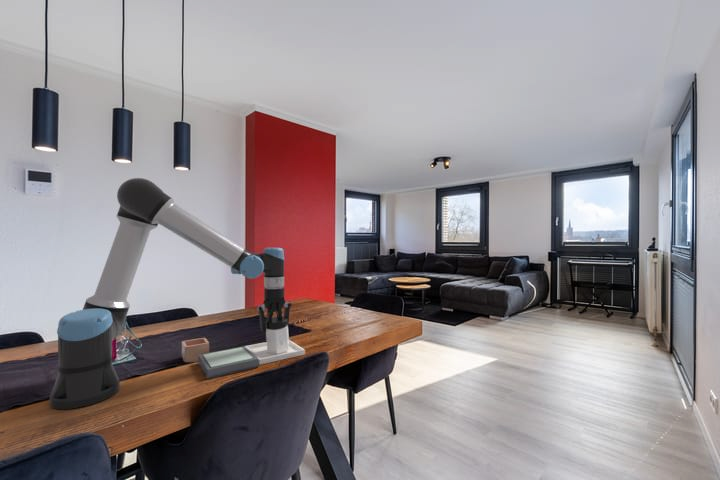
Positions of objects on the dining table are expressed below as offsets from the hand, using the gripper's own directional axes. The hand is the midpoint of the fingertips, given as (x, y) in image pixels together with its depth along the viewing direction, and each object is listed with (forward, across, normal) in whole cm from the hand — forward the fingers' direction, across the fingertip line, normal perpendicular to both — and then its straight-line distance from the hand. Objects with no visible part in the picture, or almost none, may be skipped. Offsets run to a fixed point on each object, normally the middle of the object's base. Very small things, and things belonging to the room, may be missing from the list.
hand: (274, 347), depth 128 cm
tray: (+2, 0, 0) cm, 2 cm away
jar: (+1, +2, 0) cm, 2 cm away
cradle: (+2, -18, -3) cm, 18 cm away
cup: (+2, -26, +11) cm, 28 cm away
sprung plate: (0, -18, -3) cm, 18 cm away
